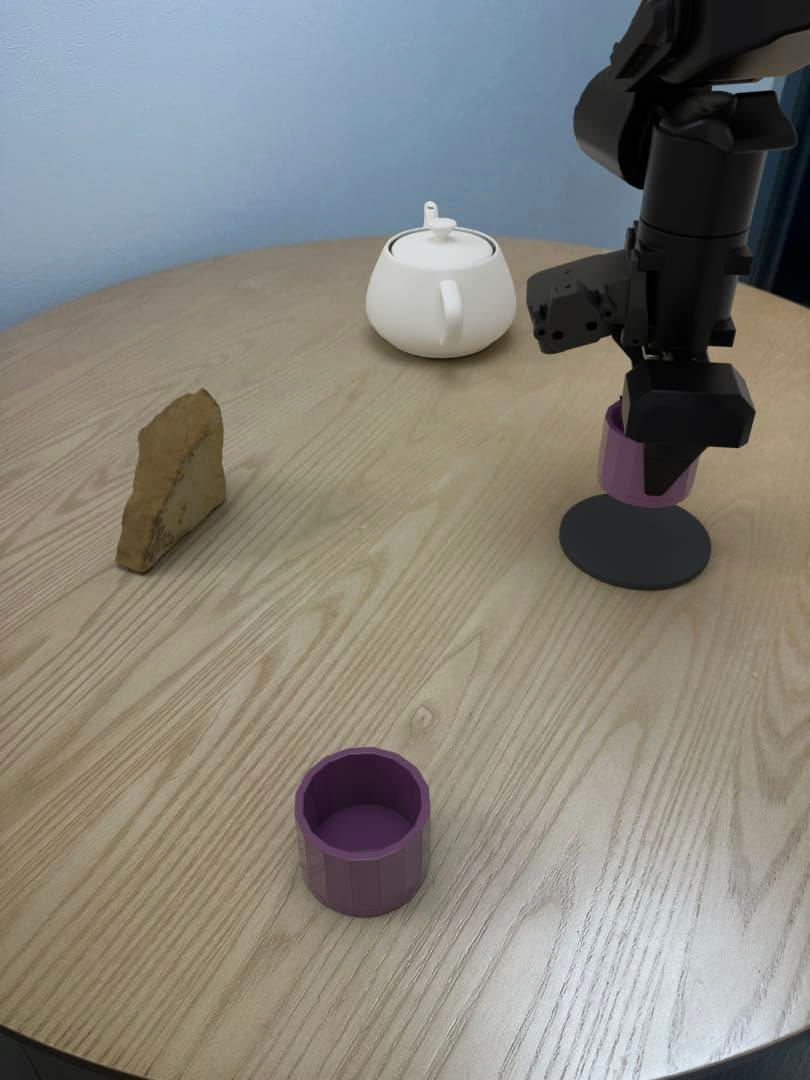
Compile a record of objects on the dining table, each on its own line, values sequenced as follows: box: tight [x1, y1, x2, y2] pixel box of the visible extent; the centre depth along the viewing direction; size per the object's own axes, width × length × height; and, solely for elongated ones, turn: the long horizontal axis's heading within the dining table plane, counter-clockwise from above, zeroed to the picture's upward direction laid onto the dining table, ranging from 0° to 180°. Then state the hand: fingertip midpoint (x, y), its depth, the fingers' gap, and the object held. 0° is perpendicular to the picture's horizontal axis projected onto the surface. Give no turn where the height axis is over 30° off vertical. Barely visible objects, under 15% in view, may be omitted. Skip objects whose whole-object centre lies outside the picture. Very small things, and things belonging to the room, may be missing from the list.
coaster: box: [558, 493, 712, 591], centre depth 63 cm, size 10×10×1 cm
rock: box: [114, 387, 227, 574], centre depth 63 cm, size 11×9×10 cm
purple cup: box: [596, 399, 701, 508], centre depth 59 cm, size 6×6×4 cm
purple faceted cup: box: [293, 746, 432, 918], centre depth 43 cm, size 6×6×4 cm
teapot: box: [365, 200, 517, 359], centre depth 85 cm, size 22×14×11 cm, turn 4°
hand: (648, 464), depth 60 cm, fingers closed on purple cup, 6 cm apart
